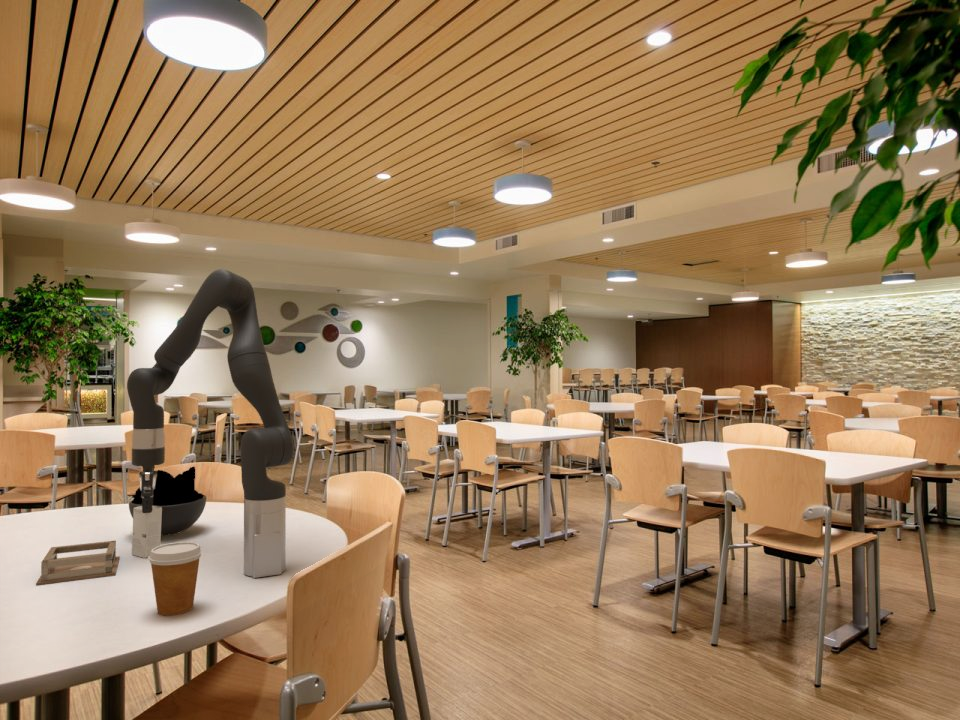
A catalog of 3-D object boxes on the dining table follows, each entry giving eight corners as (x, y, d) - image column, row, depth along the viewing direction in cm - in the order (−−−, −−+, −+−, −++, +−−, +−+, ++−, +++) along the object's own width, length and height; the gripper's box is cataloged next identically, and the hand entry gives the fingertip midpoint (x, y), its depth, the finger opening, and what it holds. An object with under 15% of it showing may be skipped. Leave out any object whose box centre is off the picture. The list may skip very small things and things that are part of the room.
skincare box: (130, 555, 161) (131, 507, 161) (147, 550, 165) (147, 504, 165) (145, 558, 158) (145, 509, 158) (162, 554, 162) (162, 506, 162)
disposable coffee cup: (209, 600, 128) (209, 541, 129) (189, 618, 119) (190, 554, 119) (162, 601, 128) (162, 541, 128) (138, 619, 119) (138, 555, 119)
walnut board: (115, 575, 145) (115, 573, 145) (36, 585, 138) (36, 583, 138) (119, 558, 158) (119, 556, 158) (47, 566, 151) (47, 564, 151)
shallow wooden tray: (111, 572, 145) (111, 554, 145) (41, 581, 139) (41, 562, 139) (115, 557, 157) (115, 540, 157) (51, 564, 151) (51, 547, 151)
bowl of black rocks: (121, 546, 169) (121, 475, 169) (136, 529, 188) (136, 465, 188) (202, 540, 175) (202, 472, 175) (209, 523, 194) (209, 462, 194)
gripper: (164, 448, 157) (163, 513, 157) (165, 442, 170) (164, 502, 170) (130, 450, 154) (129, 516, 154) (133, 443, 167) (132, 505, 167)
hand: (147, 509), depth 162 cm, fingers open, 8 cm apart
